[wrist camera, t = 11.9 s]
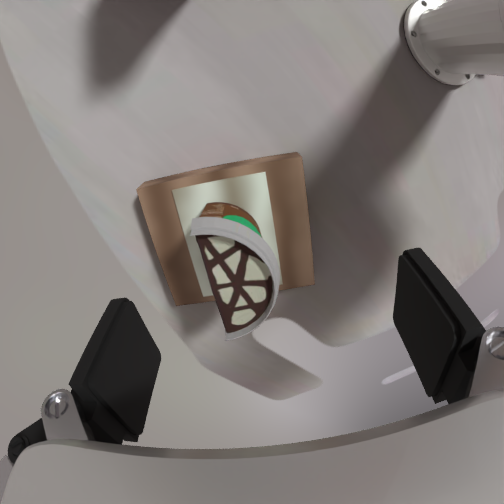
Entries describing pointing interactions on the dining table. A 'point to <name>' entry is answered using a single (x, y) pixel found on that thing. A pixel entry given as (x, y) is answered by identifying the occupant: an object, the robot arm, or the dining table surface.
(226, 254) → the food container
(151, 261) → the dining table surface
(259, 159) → the plinth
